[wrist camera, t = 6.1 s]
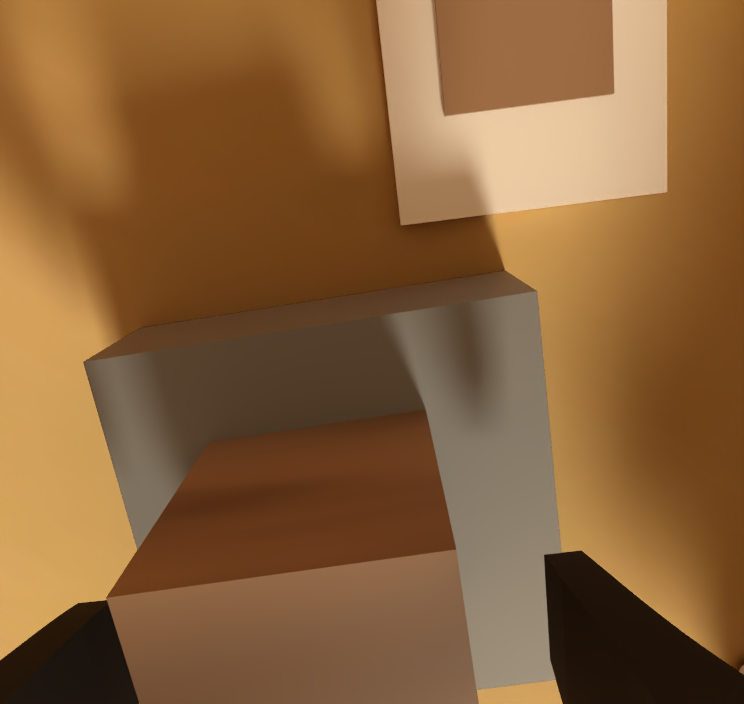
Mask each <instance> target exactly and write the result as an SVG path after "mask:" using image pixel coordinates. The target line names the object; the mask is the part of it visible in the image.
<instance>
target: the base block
mask: <svg viewBox="0 0 744 704" xmlns="http://www.w3.org/2000/svg"><path fill="white" fill-rule="evenodd" d="M83 363H84V366H85V370H86V373H87V377H88V380H89V384H90V387H91V391H92V394H93V398H94V401H95V404H96V408H97V411H98V415H99V418H100V422H101V425H102V429H103V432H104V436H105V439H106V442H107V446H108V449H109V453H110V456H111V460H112V463H113V467H114V470H115V474H116V477H117V481H118V484H119V487H120V491H121V494H122V498H123V501H124V505H125V508H126V512H127V515H128V519H129V522H130V526H131V529H132V532H133V536H134V539H135V543H136V546H137V550H138V549H139V547H140V546H141V544H142V543H143V541H144V540H145V538H146V536H147V535H148V533H149V532H150V530H151V529H152V527H153V526H154V524H155V523H156V521H157V520H158V518H159V517H160V515H161V514H162V512H163V511H164V509H165V508H166V506H167V504H168V503H169V501H170V500H171V498H172V497H173V495H174V494H175V492H176V491H177V489H178V488H179V486H180V485H181V483H182V482H183V480H184V479H185V477H186V476H187V474H188V472H189V471H190V469H191V468H192V466H193V465H194V463H195V462H196V460H197V459H198V457H199V456H200V454H201V453H202V451H203V450H204V448H205V447H206V445H207V444H208V442H213V441H220V440H227V439H233V438H240V437H247V436H253V435H260V434H267V433H273V432H280V431H286V430H293V429H300V428H306V427H313V426H320V425H326V424H333V423H340V422H346V421H353V420H360V419H367V418H373V417H380V416H387V415H393V414H400V413H407V412H413V411H420V410H426V412H427V417H428V422H429V426H430V431H431V435H432V440H433V445H434V449H435V454H436V458H437V463H438V467H439V472H440V477H441V481H442V486H443V490H444V495H445V500H446V504H447V509H448V513H449V518H450V523H451V527H452V532H453V536H454V541H455V546H456V551H457V557H458V564H459V571H460V578H461V585H462V592H463V599H464V606H465V613H466V620H467V627H468V634H469V641H470V648H471V655H472V662H473V669H474V675H475V682H476V689H477V690H481V689H489V688H496V687H504V686H512V685H520V684H528V683H536V682H543V681H551V680H556V678H555V675H554V671H553V668H552V664H551V661H550V650H549V633H548V616H547V599H546V582H545V566H544V555H545V554H555V553H561V542H560V531H559V521H558V510H557V499H556V488H555V478H554V467H553V456H552V445H551V435H550V424H549V413H548V402H547V392H546V381H545V370H544V359H543V349H542V338H541V327H540V316H539V306H538V295H537V291H536V290H534V289H533V288H531V287H530V286H528V285H527V284H525V283H524V282H522V281H521V280H519V279H517V278H516V277H514V276H513V275H511V274H510V273H508V272H507V271H499V272H492V273H486V274H480V275H473V276H467V277H461V278H454V279H448V280H442V281H435V282H429V283H423V284H416V285H410V286H404V287H397V288H391V289H384V290H378V291H372V292H365V293H359V294H353V295H346V296H340V297H334V298H327V299H321V300H315V301H308V302H302V303H296V304H289V305H283V306H276V307H270V308H264V309H257V310H251V311H245V312H238V313H232V314H226V315H219V316H213V317H207V318H200V319H194V320H188V321H181V322H175V323H169V324H162V325H156V326H149V327H143V328H139V329H137V330H136V331H134V332H132V333H131V334H129V335H127V336H126V337H124V338H122V339H121V340H119V341H117V342H116V343H114V344H112V345H111V346H109V347H107V348H106V349H104V350H102V351H101V352H99V353H97V354H96V355H94V356H92V357H91V358H89V359H87V360H86V361H84V362H83Z"/></svg>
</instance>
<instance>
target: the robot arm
mask: <svg viewBox="0 0 744 704" xmlns="http://www.w3.org/2000/svg"><path fill="white" fill-rule="evenodd" d="M544 566H545V582H546V599H547V616H548V633H549V650H550V661H551V664H552V668H553V671H554V675H555V678H556V682H557V685H558V689H559V692H560V696H561V699H562V702H563V704H744V664H743V666H742V667H741V668H740V670H739V671H737V670H736V669H734V668H733V667H732V666H730V665H729V664H727V663H726V662H724V661H723V660H721V659H720V658H718V657H717V656H716V655H714V654H713V653H711V652H710V651H708V650H707V649H705V648H704V647H702V646H701V645H700V644H698V643H697V642H695V641H694V640H693V639H691V638H690V637H689V636H687V635H686V634H685V633H683V632H682V631H680V630H679V629H678V628H676V627H675V626H674V625H673V624H671V623H670V622H669V621H667V620H666V619H665V618H663V617H662V616H661V615H660V614H658V613H657V612H656V611H654V610H653V609H652V608H651V607H649V606H648V605H647V604H646V603H644V602H643V601H642V600H641V599H639V598H638V597H637V596H636V595H634V594H633V593H632V592H631V591H630V590H628V589H627V588H626V587H625V586H623V585H622V584H621V583H620V582H619V581H617V580H616V579H615V578H614V577H613V576H611V575H610V574H609V573H608V572H607V571H605V570H604V569H603V568H602V567H601V566H599V565H598V564H597V563H596V562H595V561H593V560H592V559H591V558H590V557H588V556H587V555H586V554H585V553H584V552H582V551H574V552H565V553H555V554H545V555H544ZM0 704H139V701H138V697H137V694H136V691H135V688H134V685H133V681H132V678H131V675H130V672H129V669H128V666H127V662H126V659H125V656H124V653H123V650H122V646H121V643H120V640H119V637H118V634H117V631H116V627H115V624H114V621H113V618H112V615H111V611H110V608H109V605H108V602H107V600H105V601H96V602H86V603H78V604H76V605H75V606H73V607H72V608H70V609H69V610H67V611H66V612H64V613H63V614H61V615H60V616H58V617H57V618H56V619H54V620H53V621H52V622H50V623H49V624H47V625H46V626H45V627H43V628H42V629H41V630H39V631H38V632H37V633H35V634H34V635H33V636H32V637H30V638H29V639H28V640H26V641H25V642H24V643H22V644H21V645H20V646H18V647H17V648H16V649H15V650H13V651H12V652H11V653H9V654H8V655H7V656H5V657H4V658H3V659H2V660H0Z"/></svg>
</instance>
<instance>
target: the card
mask: <svg viewBox="0 0 744 704" xmlns="http://www.w3.org/2000/svg"><path fill="white" fill-rule="evenodd" d="M376 7H377V16H378V25H379V34H380V43H381V52H382V61H383V71H384V80H385V89H386V98H387V107H388V116H389V125H390V134H391V143H392V153H393V162H394V171H395V180H396V189H397V198H398V207H399V216H400V225H409V224H417V223H425V222H433V221H441V220H449V219H457V218H465V217H473V216H481V215H489V214H497V213H505V212H513V211H521V210H529V209H537V208H545V207H553V206H561V205H569V204H577V203H585V202H593V201H601V200H609V199H617V198H625V197H633V196H641V195H649V194H657V193H664V192H667V0H376Z"/></svg>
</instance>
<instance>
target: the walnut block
mask: <svg viewBox="0 0 744 704" xmlns="http://www.w3.org/2000/svg"><path fill="white" fill-rule="evenodd" d="M106 599H107V602H108V605H109V608H110V611H111V615H112V618H113V621H114V624H115V627H116V631H117V634H118V637H119V640H120V643H121V646H122V650H123V653H124V656H125V659H126V662H127V666H128V669H129V672H130V675H131V678H132V681H133V685H134V688H135V691H136V694H137V697H138V701H139V704H479V703H478V696H477V689H476V682H475V675H474V669H473V662H472V655H471V648H470V641H469V634H468V627H467V620H466V613H465V606H464V599H463V592H462V585H461V578H460V571H459V564H458V557H457V551H456V546H455V541H454V536H453V532H452V527H451V523H450V518H449V513H448V509H447V504H446V500H445V495H444V490H443V486H442V481H441V477H440V472H439V467H438V463H437V458H436V454H435V449H434V445H433V440H432V435H431V431H430V426H429V422H428V417H427V412H426V410H420V411H413V412H407V413H400V414H393V415H387V416H380V417H373V418H367V419H360V420H353V421H346V422H340V423H333V424H326V425H320V426H313V427H306V428H300V429H293V430H286V431H280V432H273V433H267V434H260V435H253V436H247V437H240V438H233V439H227V440H220V441H213V442H208V444H207V445H206V447H205V448H204V450H203V451H202V453H201V454H200V456H199V457H198V459H197V460H196V462H195V463H194V465H193V466H192V468H191V469H190V471H189V472H188V474H187V476H186V477H185V479H184V480H183V482H182V483H181V485H180V486H179V488H178V489H177V491H176V492H175V494H174V495H173V497H172V498H171V500H170V501H169V503H168V504H167V506H166V508H165V509H164V511H163V512H162V514H161V515H160V517H159V518H158V520H157V521H156V523H155V524H154V526H153V527H152V529H151V530H150V532H149V533H148V535H147V536H146V538H145V540H144V541H143V543H142V544H141V546H140V547H139V549H138V550H137V552H136V553H135V555H134V556H133V558H132V559H131V561H130V562H129V564H128V565H127V567H126V569H125V570H124V572H123V573H122V575H121V576H120V578H119V579H118V581H117V582H116V584H115V585H114V587H113V588H112V590H111V591H110V593H109V594H108V596H107V597H106Z"/></svg>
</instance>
